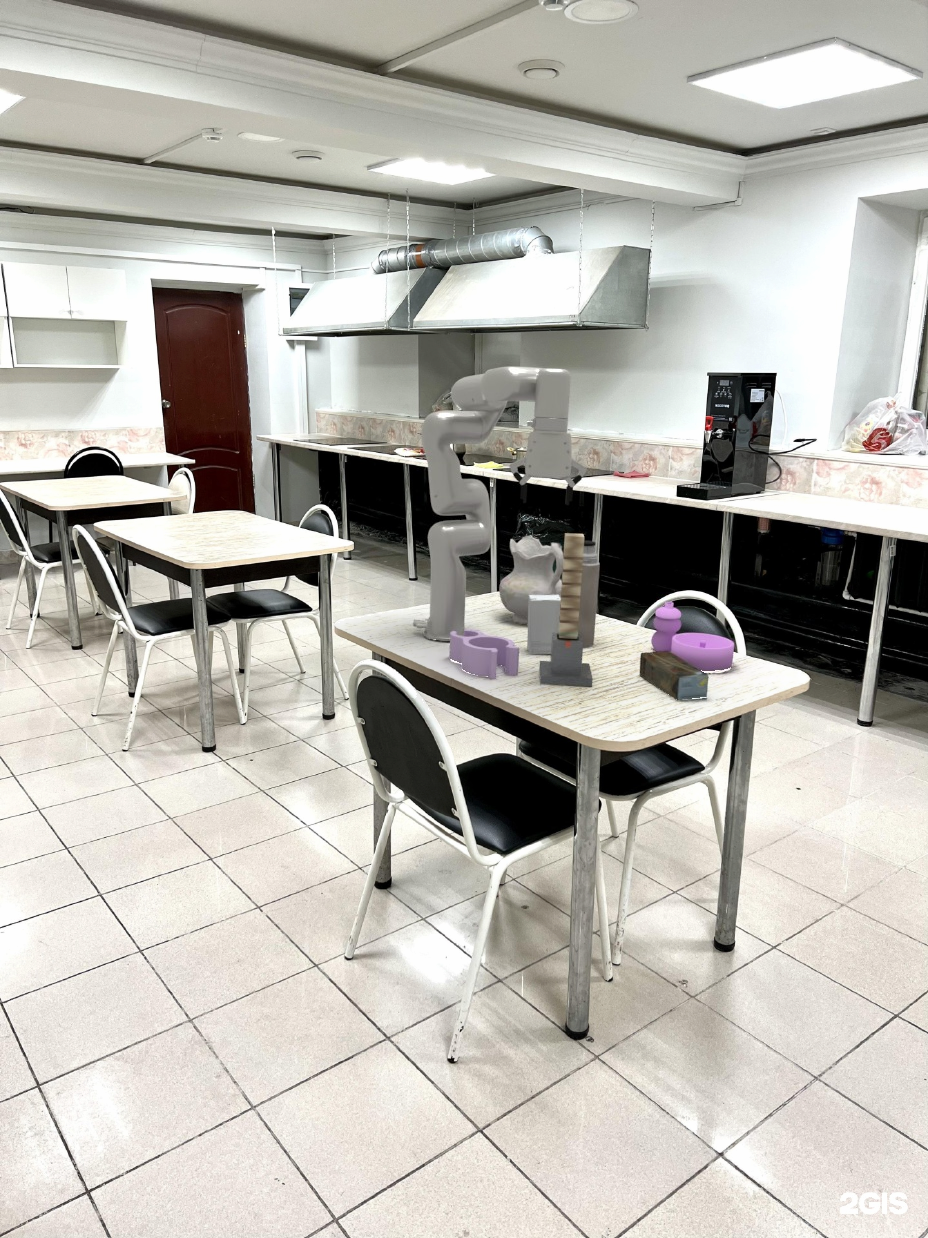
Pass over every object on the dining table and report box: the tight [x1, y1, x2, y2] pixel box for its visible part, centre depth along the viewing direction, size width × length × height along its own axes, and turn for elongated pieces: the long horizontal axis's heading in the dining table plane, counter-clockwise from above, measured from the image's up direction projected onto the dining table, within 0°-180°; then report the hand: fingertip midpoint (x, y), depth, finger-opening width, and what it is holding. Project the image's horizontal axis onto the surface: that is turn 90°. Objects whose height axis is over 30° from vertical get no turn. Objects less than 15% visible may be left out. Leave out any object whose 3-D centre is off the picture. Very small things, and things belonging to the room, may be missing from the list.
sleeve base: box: [538, 632, 594, 688], centre depth 216 cm, size 12×12×10 cm
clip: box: [449, 628, 520, 680], centre depth 222 cm, size 20×12×7 cm, turn 35°
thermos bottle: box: [578, 540, 600, 648], centre depth 243 cm, size 8×8×28 cm
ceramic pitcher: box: [498, 535, 564, 625], centre depth 266 cm, size 22×20×25 cm
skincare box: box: [526, 595, 561, 655], centre depth 236 cm, size 8×6×15 cm
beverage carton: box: [639, 650, 710, 701], centre depth 213 cm, size 8×19×7 cm, turn 16°
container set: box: [650, 601, 735, 671], centre depth 234 cm, size 25×15×13 cm, turn 29°
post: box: [558, 532, 585, 639], centre depth 212 cm, size 4×4×24 cm
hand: (545, 503), depth 206 cm, fingers open, 9 cm apart
